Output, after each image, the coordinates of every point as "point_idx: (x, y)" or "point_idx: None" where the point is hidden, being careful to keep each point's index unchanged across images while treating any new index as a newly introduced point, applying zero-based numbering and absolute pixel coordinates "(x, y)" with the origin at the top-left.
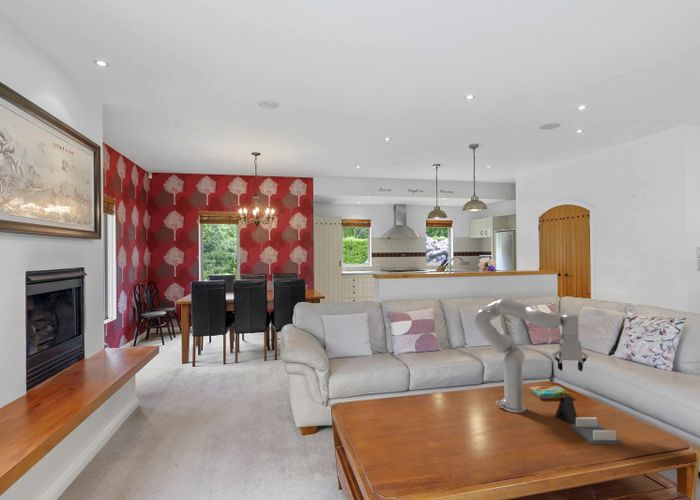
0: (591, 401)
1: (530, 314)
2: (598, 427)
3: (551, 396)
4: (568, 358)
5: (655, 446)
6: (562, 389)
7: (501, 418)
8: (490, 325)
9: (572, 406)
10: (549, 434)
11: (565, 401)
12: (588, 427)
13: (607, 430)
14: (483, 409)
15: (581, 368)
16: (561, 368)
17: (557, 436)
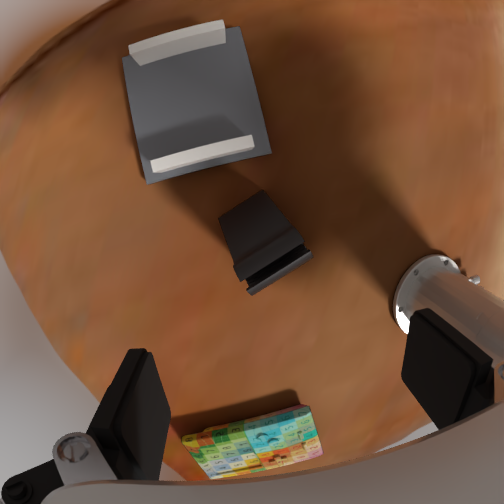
0: None
1: None
2: (158, 153)
3: (259, 419)
4: (488, 447)
5: (33, 92)
6: (206, 461)
7: (479, 196)
8: None
9: (240, 245)
10: (369, 84)
11: (289, 229)
12: (202, 140)
13: (159, 43)
14: (501, 257)
15: (127, 370)
16: (439, 318)
17: (345, 71)
